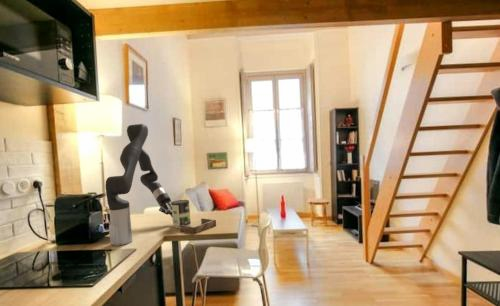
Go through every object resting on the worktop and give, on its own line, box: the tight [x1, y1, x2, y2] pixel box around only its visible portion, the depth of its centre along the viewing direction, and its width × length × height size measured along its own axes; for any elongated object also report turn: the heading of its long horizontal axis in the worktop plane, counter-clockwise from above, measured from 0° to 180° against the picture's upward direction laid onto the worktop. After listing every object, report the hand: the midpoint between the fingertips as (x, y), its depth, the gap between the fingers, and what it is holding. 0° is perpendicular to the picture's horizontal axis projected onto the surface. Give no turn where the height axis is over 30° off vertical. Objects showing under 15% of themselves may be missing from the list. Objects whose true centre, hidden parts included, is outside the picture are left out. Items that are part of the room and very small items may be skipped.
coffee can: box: [171, 199, 192, 229], centre depth 164 cm, size 10×10×14 cm
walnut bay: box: [180, 217, 217, 234], centre depth 155 cm, size 16×11×3 cm
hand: (175, 217), depth 167 cm, fingers closed
